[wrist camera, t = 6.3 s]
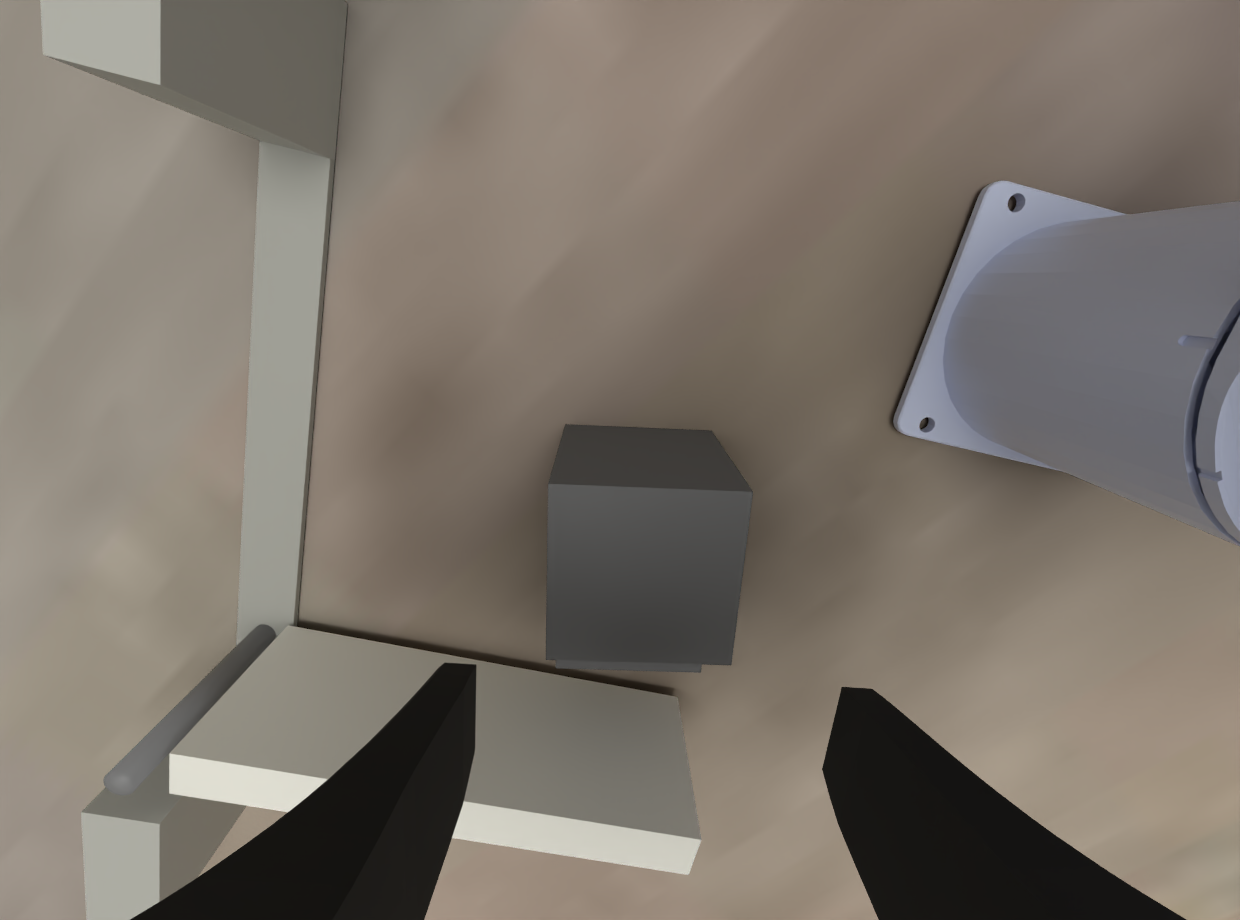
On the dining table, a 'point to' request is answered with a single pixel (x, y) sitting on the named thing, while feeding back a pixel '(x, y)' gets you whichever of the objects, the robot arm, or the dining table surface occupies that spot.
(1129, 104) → the dining table surface
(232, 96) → the grey u-shaped bar
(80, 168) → the dining table surface
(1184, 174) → the dining table surface
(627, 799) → the door
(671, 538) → the dark grey block
